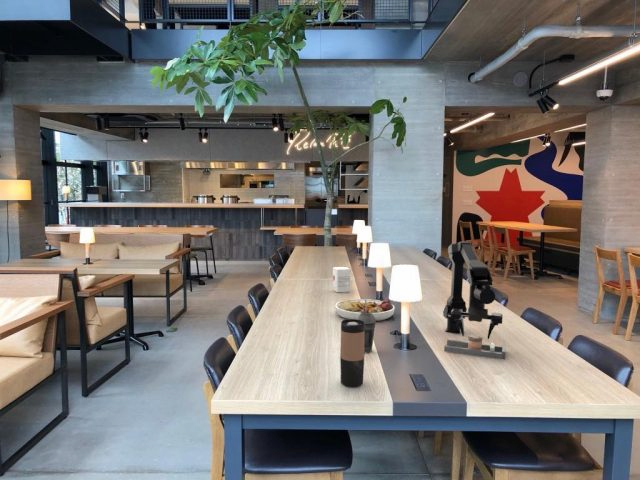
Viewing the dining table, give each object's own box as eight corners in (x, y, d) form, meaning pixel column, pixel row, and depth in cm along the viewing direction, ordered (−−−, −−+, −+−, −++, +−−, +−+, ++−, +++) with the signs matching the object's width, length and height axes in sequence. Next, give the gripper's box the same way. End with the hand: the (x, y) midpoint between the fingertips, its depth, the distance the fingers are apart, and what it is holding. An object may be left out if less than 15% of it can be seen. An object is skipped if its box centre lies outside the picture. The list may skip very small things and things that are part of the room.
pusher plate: (490, 350, 176) (490, 342, 176) (494, 350, 176) (495, 343, 176) (489, 355, 171) (490, 347, 170) (494, 356, 170) (494, 348, 170)
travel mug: (362, 378, 149) (363, 318, 147) (365, 387, 141) (366, 325, 139) (339, 378, 149) (339, 318, 147) (340, 388, 141) (341, 325, 139)
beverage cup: (360, 354, 171) (361, 303, 169) (353, 348, 178) (354, 298, 176) (378, 353, 173) (379, 302, 171) (371, 347, 180) (372, 297, 178)
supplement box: (332, 290, 290) (332, 267, 288) (345, 289, 292) (345, 266, 291) (337, 293, 281) (337, 269, 280) (350, 292, 284) (350, 268, 282)
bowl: (346, 325, 211) (346, 309, 211) (328, 309, 240) (328, 295, 239) (404, 321, 219) (404, 305, 218) (380, 306, 248) (380, 292, 247)
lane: (447, 344, 184) (447, 336, 184) (505, 351, 176) (505, 344, 175) (444, 351, 176) (444, 343, 175) (505, 359, 167) (505, 351, 167)
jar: (468, 348, 179) (468, 334, 179) (482, 350, 177) (483, 336, 176) (466, 352, 174) (467, 338, 174) (481, 354, 172) (482, 340, 172)
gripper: (449, 300, 170) (448, 340, 171) (502, 305, 163) (500, 347, 164) (453, 294, 180) (451, 332, 181) (503, 298, 173) (501, 338, 174)
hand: (475, 337), depth 175 cm, fingers open, 9 cm apart
